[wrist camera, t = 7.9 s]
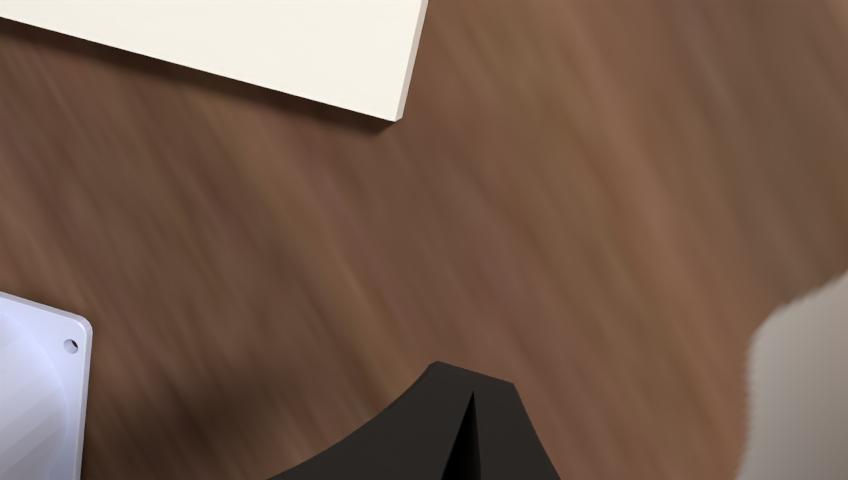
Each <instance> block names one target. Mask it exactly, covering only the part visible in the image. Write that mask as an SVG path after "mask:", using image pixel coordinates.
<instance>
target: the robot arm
mask: <svg viewBox="0 0 848 480" xmlns="http://www.w3.org/2000/svg"><path fill="white" fill-rule="evenodd" d="M92 334H93V332H92V327H91V325H90V323H89V322H88V321H87V320H86V319H85V318H84V317H82V316H79V315H76V314H73V313H70V312H66V311H63V310H60V309H56V308H53V307H50V306H47V305H43V304H40V303H37V302H33V301H30V300H27V299H24V298H20V297H17V296H14V295H10V294H7V293H4V292H0V480H80V474H81V462H82V450H83V439H84V427H85V416H86V404H87V392H88V381H89V369H90V358H91V346H92ZM71 339H72V340H73V341H75V342H76V343H77V345H78V348H77V347H75V346H74V345H73V343H72V340H71ZM266 480H561V479H560V477H559V475H558V474H557V472H556V470H555V468H554V466H553V464H552V463H551V461H550V459H549V457H548V455H547V453H546V451H545V449H544V448H543V446H542V444H541V442H540V440H539V438H538V436H537V434H536V431H535V429H534V427H533V425H532V423H531V421H530V419H529V416H528V414H527V412H526V410H525V408H524V405H523V403H522V401H521V398H520V396H519V394H518V392H517V390H516V388H515V386H514V384H513V383H510V382H507V381H504V380H500V379H497V378H493V377H490V376H487V375H483V374H480V373H477V372H473V371H470V370H466V369H463V368H460V367H456V366H453V365H450V364H446V363H443V362H439V361H436V362H434V363H432V364H430V365H428V367H427V369H426V370H425V371H424V373H423V374H422V375H421V376H420V377H419V378H418V379H417V380H416V381H415V382H414V383H413V384H412V385H411V386H410V387H409V388H408V389H407V390H406V391H405V392H404V393H403V394H402V395H401V396H400V397H398V398H397V399H396V400H395V401H394V402H392V403H391V404H390V405H389V406H388V407H387V408H385V409H384V410H383V411H382V412H381V413H379V414H378V415H377V416H375V417H374V418H373V419H371V420H370V421H368V422H367V423H366V424H364V425H363V426H361V427H360V428H359V429H357V430H356V431H354V432H353V433H352V434H350V435H349V436H347V437H346V438H344V439H343V440H341V441H339V442H338V443H336V444H335V445H333V446H331V447H330V448H328V449H326V450H325V451H323V452H321V453H319V454H318V455H316V456H314V457H312V458H310V459H308V460H307V461H305V462H303V463H301V464H299V465H297V466H295V467H293V468H291V469H289V470H286V471H284V472H282V473H280V474H278V475H275V476H273V477H271V478H269V479H266Z"/></svg>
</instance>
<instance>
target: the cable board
mask: <svg viewBox="0 0 848 480" xmlns="http://www.w3.org/2000/svg"><path fill="white" fill-rule="evenodd" d="M427 5H428V0H0V17H4V18H8V19H11V20H15V21H19V22H23V23H26V24H30V25H34V26H38V27H41V28H45V29H49V30H53V31H56V32H60V33H64V34H68V35H71V36H75V37H79V38H83V39H86V40H90V41H94V42H98V43H101V44H105V45H109V46H113V47H116V48H120V49H124V50H128V51H131V52H135V53H139V54H143V55H146V56H150V57H154V58H158V59H161V60H165V61H169V62H173V63H176V64H180V65H184V66H188V67H191V68H195V69H199V70H203V71H206V72H210V73H214V74H218V75H221V76H225V77H229V78H233V79H236V80H240V81H244V82H248V83H251V84H255V85H259V86H263V87H266V88H270V89H274V90H278V91H281V92H285V93H289V94H293V95H296V96H300V97H304V98H308V99H311V100H315V101H319V102H323V103H326V104H330V105H334V106H338V107H341V108H345V109H349V110H353V111H356V112H360V113H364V114H368V115H371V116H375V117H379V118H383V119H386V120H390V121H394V122H395V121H397V120H399V119H401V118H402V115H403V111H404V106H405V102H406V97H407V93H408V89H409V84H410V80H411V75H412V71H413V66H414V62H415V58H416V53H417V49H418V44H419V40H420V36H421V31H422V27H423V22H424V18H425V13H426V9H427Z"/></svg>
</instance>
